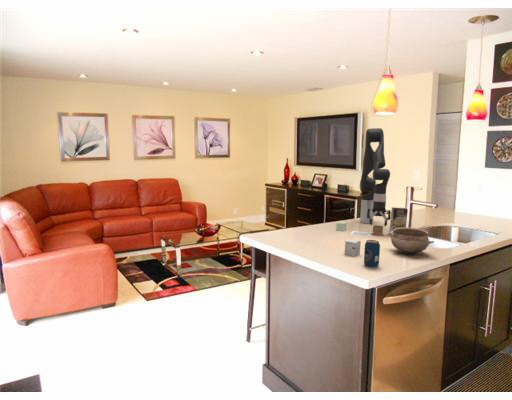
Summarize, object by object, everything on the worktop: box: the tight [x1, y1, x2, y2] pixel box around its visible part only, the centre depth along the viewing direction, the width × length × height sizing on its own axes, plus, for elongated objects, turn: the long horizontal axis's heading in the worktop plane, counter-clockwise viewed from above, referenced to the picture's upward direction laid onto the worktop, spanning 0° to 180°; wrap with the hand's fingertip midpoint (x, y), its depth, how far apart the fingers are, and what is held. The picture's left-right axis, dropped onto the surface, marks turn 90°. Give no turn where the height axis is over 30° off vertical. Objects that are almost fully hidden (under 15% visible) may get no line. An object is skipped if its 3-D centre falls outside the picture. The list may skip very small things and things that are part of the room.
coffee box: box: [389, 206, 409, 232], centre depth 262 cm, size 9×6×16 cm
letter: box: [348, 230, 373, 238], centre depth 255 cm, size 12×13×1 cm
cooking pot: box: [387, 226, 435, 255], centre depth 210 cm, size 25×19×12 cm
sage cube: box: [335, 221, 347, 232], centre depth 264 cm, size 6×6×6 cm
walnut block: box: [371, 224, 384, 237], centre depth 252 cm, size 6×6×6 cm
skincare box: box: [344, 238, 362, 257], centre depth 206 cm, size 6×6×7 cm
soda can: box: [363, 239, 381, 269], centre depth 187 cm, size 7×7×12 cm
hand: (378, 225), depth 252 cm, fingers open, 8 cm apart
